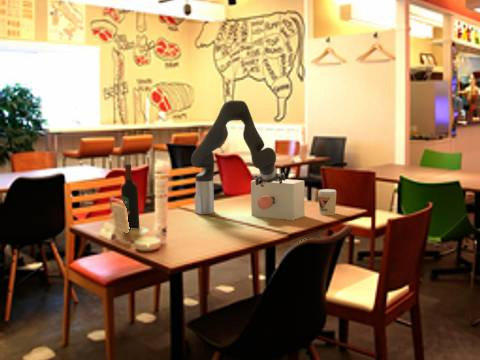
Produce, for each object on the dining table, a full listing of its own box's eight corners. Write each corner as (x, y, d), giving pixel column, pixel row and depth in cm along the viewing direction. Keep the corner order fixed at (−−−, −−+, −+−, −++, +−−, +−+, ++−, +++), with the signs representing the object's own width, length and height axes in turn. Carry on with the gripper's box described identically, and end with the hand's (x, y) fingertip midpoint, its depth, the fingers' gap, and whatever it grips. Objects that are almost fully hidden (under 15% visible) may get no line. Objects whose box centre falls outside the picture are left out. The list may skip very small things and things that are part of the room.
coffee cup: (314, 213, 285) (314, 190, 283) (327, 211, 290) (327, 188, 288) (327, 216, 277) (327, 192, 276) (340, 213, 283) (340, 190, 281)
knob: (268, 210, 267) (268, 197, 266) (257, 209, 270) (257, 196, 269) (278, 206, 275) (278, 193, 274) (267, 205, 278) (267, 193, 278)
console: (293, 220, 270) (292, 183, 267) (251, 215, 283) (250, 180, 280) (304, 215, 280) (304, 180, 277) (263, 211, 293) (263, 177, 290)
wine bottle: (138, 229, 260) (135, 165, 255) (122, 229, 259) (118, 165, 255) (140, 225, 267) (137, 163, 263) (124, 226, 266) (120, 164, 262)
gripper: (282, 161, 255) (284, 174, 270) (251, 166, 256) (256, 179, 271) (284, 176, 252) (287, 188, 267) (253, 181, 254) (258, 193, 269)
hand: (271, 183), depth 269 cm, fingers open, 8 cm apart
